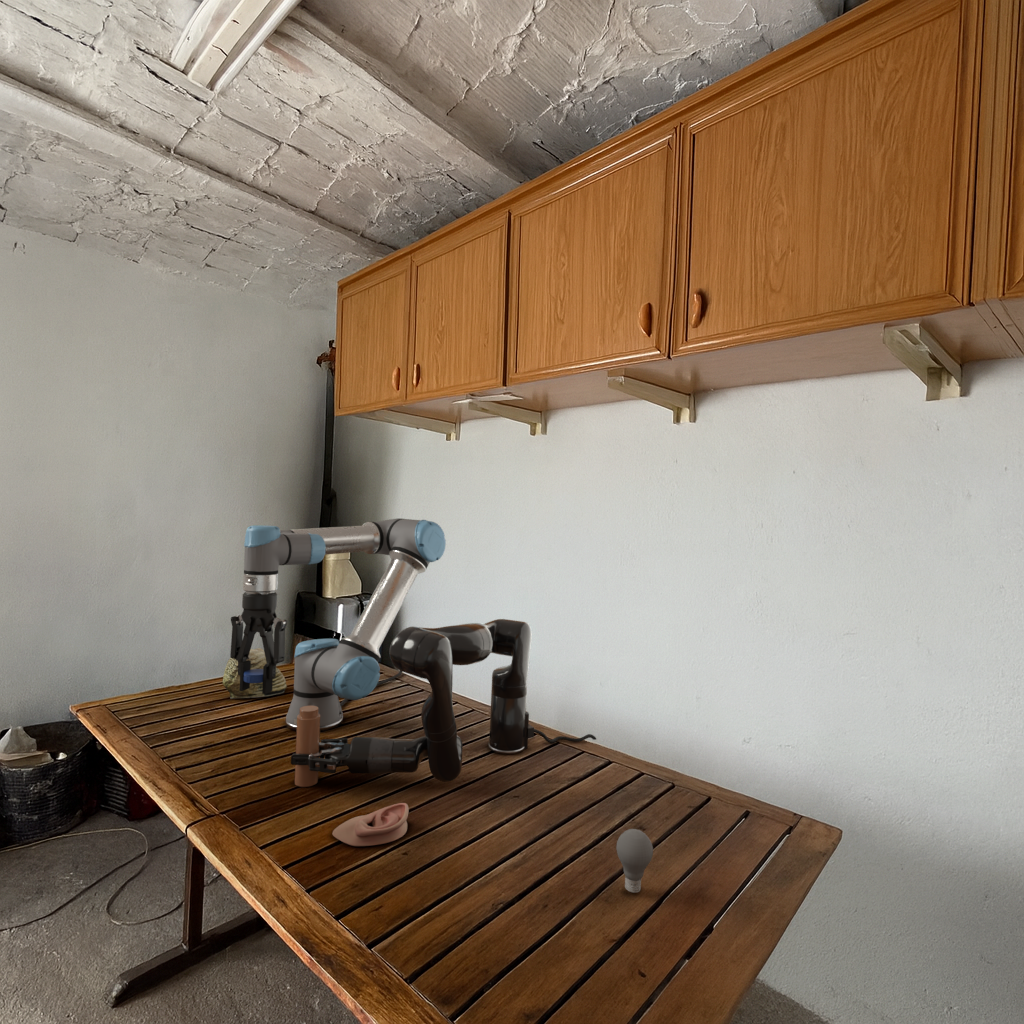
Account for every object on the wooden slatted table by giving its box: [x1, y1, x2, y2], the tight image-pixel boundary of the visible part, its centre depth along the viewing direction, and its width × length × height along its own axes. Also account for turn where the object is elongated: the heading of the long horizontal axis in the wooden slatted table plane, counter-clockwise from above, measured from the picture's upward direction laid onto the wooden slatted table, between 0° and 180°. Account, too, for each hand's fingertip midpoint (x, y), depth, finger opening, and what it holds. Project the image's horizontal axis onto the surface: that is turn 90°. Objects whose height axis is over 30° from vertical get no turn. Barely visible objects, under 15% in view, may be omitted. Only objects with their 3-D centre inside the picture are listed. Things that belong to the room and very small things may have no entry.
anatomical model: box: [332, 802, 410, 847], centre depth 121 cm, size 13×4×12 cm
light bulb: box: [615, 828, 654, 894], centre depth 106 cm, size 6×6×10 cm
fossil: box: [222, 647, 288, 699], centre depth 198 cm, size 9×18×15 cm, turn 132°
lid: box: [243, 669, 263, 683], centre depth 148 cm, size 6×6×2 cm
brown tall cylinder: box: [294, 706, 321, 788], centre depth 140 cm, size 5×5×16 cm
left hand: (255, 690), depth 148 cm, fingers closed on lid, 5 cm apart
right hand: (295, 754), depth 140 cm, fingers closed on brown tall cylinder, 5 cm apart
